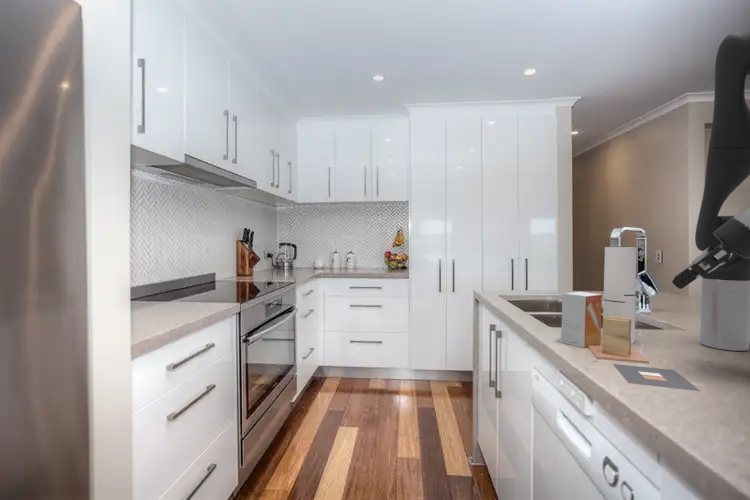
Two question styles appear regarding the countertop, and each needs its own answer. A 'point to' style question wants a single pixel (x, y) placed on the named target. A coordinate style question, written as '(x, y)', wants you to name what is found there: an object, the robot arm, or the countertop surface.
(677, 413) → the countertop surface
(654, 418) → the countertop surface
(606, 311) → the cylindrical container
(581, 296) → the small box
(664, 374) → the mat
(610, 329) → the maple block
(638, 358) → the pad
